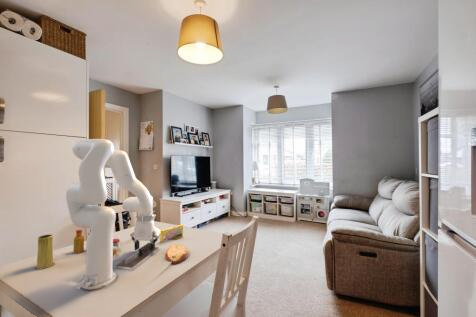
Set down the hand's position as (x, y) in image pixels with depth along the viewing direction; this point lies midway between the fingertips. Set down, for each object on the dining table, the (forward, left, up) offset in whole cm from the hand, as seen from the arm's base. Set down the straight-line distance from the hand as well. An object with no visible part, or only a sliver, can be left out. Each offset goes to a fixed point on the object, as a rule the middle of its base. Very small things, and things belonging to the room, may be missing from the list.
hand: (144, 249), depth 120 cm
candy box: (+22, -5, -3) cm, 23 cm away
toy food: (-2, +26, -3) cm, 26 cm away
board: (-5, 0, -2) cm, 5 cm away
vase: (-21, +39, -3) cm, 44 cm away
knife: (-6, 0, -1) cm, 6 cm away
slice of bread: (+2, -17, -3) cm, 17 cm away
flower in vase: (+28, +13, -3) cm, 31 cm away
